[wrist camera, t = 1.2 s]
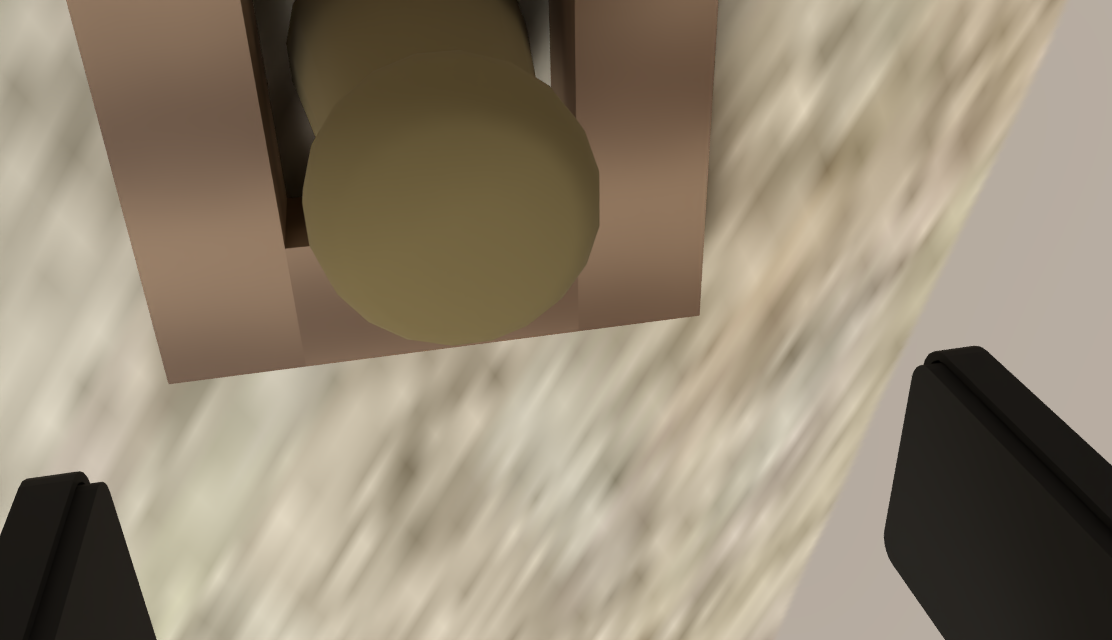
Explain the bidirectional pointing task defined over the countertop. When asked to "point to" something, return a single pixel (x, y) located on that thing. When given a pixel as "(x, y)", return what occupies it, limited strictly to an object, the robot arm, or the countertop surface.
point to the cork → (439, 166)
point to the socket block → (277, 221)
